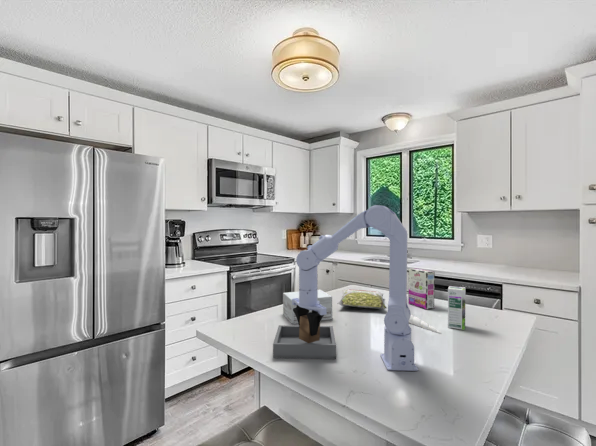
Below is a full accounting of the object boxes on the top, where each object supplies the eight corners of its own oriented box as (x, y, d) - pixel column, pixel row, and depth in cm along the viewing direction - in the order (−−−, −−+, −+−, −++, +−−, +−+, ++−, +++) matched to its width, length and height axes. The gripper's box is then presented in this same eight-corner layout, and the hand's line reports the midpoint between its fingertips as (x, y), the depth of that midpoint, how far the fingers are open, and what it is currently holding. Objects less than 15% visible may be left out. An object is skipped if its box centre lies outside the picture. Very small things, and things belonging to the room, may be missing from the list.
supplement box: (320, 310, 141) (320, 288, 141) (332, 319, 129) (332, 296, 129) (282, 314, 136) (282, 291, 136) (291, 324, 124) (291, 299, 123)
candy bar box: (435, 308, 143) (435, 271, 143) (426, 310, 141) (426, 272, 141) (415, 302, 153) (416, 267, 153) (407, 303, 151) (408, 268, 151)
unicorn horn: (433, 336, 111) (433, 322, 111) (387, 317, 133) (387, 305, 133) (443, 334, 113) (443, 320, 113) (396, 315, 135) (396, 303, 135)
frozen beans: (337, 297, 140) (341, 284, 165) (336, 310, 140) (341, 296, 165) (387, 301, 136) (384, 288, 160) (387, 315, 136) (383, 299, 161)
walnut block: (319, 340, 101) (320, 317, 101) (308, 343, 99) (309, 319, 99) (310, 336, 105) (310, 314, 105) (299, 338, 102) (299, 316, 102)
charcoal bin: (336, 359, 93) (336, 345, 93) (273, 357, 94) (273, 344, 94) (332, 338, 109) (332, 326, 109) (278, 337, 110) (278, 325, 110)
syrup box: (447, 328, 119) (447, 288, 118) (448, 323, 124) (448, 285, 124) (465, 330, 116) (465, 289, 116) (465, 325, 121) (465, 286, 121)
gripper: (334, 291, 98) (334, 336, 98) (303, 283, 109) (303, 323, 110) (316, 294, 94) (316, 342, 94) (286, 286, 105) (286, 328, 105)
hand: (308, 332), depth 101 cm, fingers closed on walnut block, 4 cm apart
